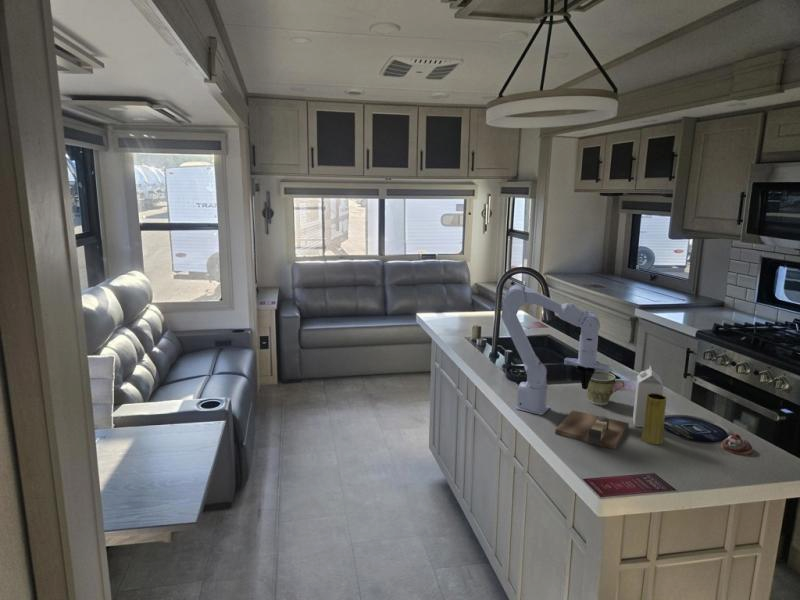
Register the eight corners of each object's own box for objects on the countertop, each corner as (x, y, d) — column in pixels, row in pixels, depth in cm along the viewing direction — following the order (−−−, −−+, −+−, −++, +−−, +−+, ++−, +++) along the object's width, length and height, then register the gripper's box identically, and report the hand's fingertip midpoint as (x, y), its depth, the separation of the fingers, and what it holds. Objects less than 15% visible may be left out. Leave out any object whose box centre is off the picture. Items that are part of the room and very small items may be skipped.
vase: (665, 445, 164) (670, 401, 161) (643, 443, 165) (648, 399, 162) (660, 436, 170) (665, 393, 166) (639, 434, 171) (643, 391, 168)
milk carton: (656, 420, 180) (661, 366, 176) (658, 430, 174) (664, 373, 170) (632, 417, 183) (638, 363, 179) (634, 426, 176) (639, 371, 172)
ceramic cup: (581, 404, 194) (583, 377, 192) (586, 394, 202) (588, 369, 200) (620, 411, 188) (623, 383, 186) (623, 401, 197) (626, 374, 194)
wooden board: (555, 433, 171) (555, 428, 171) (572, 414, 186) (572, 409, 185) (614, 449, 162) (615, 444, 161) (628, 427, 176) (628, 422, 175)
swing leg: (597, 424, 174) (598, 415, 173) (609, 427, 172) (610, 417, 171) (587, 440, 163) (588, 430, 163) (599, 443, 161) (600, 433, 161)
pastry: (717, 448, 162) (719, 433, 161) (726, 440, 167) (728, 425, 166) (747, 458, 156) (750, 442, 155) (755, 450, 161) (758, 434, 160)
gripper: (613, 350, 180) (610, 389, 183) (569, 342, 188) (567, 380, 191) (608, 355, 174) (604, 395, 177) (563, 348, 182) (560, 386, 185)
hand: (584, 388), depth 183 cm, fingers closed
